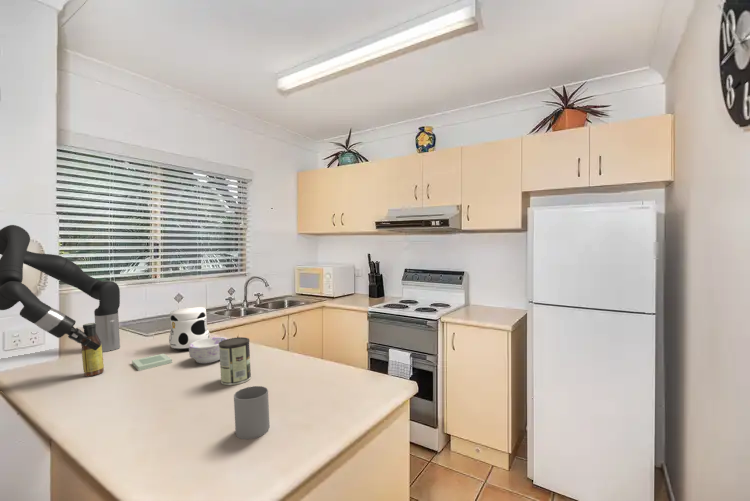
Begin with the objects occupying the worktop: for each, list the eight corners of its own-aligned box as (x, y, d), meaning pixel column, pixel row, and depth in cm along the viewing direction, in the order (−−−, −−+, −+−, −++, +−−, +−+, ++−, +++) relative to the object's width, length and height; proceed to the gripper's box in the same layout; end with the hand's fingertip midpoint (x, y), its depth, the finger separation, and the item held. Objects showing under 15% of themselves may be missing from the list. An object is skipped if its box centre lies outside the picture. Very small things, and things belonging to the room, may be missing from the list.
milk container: (162, 349, 171) (160, 311, 170) (198, 340, 185) (196, 305, 184) (181, 354, 161) (179, 315, 160) (217, 344, 175) (215, 308, 174)
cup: (241, 423, 97) (239, 387, 97) (272, 421, 98) (270, 385, 98) (231, 440, 89) (229, 400, 89) (265, 438, 89) (263, 398, 89)
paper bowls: (181, 364, 148) (180, 345, 148) (210, 353, 162) (209, 335, 162) (208, 368, 142) (207, 348, 142) (236, 356, 156) (235, 338, 156)
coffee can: (236, 373, 136) (234, 336, 135) (257, 376, 131) (255, 338, 131) (213, 383, 126) (212, 343, 126) (235, 387, 122) (233, 346, 122)
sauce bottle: (108, 371, 143) (105, 321, 142) (94, 377, 136) (91, 325, 136) (93, 371, 143) (90, 321, 143) (78, 377, 137) (75, 325, 136)
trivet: (132, 364, 150) (131, 360, 150) (164, 356, 159) (163, 353, 159) (138, 370, 142) (138, 366, 142) (172, 362, 150) (171, 359, 150)
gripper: (45, 328, 135) (85, 350, 144) (47, 334, 125) (90, 358, 133) (62, 312, 139) (101, 335, 147) (66, 316, 129) (107, 341, 137)
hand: (96, 346), depth 140 cm, fingers open, 8 cm apart
